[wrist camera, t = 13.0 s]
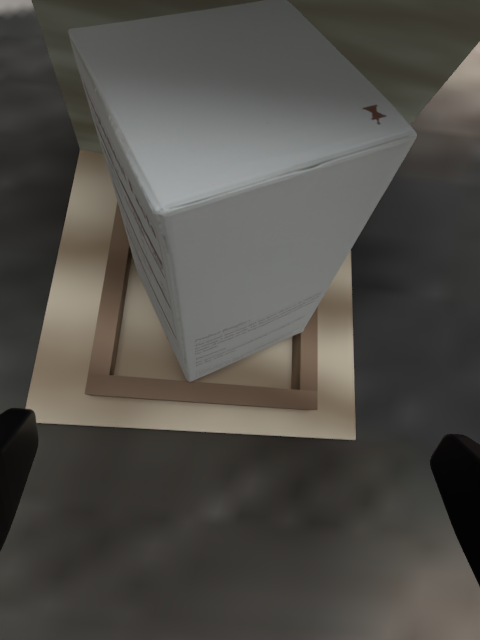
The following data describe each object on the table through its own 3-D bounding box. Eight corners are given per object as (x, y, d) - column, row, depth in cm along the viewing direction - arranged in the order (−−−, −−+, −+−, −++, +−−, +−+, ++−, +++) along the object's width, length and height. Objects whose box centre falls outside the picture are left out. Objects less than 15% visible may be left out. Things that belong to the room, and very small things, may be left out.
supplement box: (247, 237, 23) (290, -11, 12) (305, 334, 20) (433, 132, 9) (134, 274, 21) (59, 18, 10) (183, 387, 18) (155, 213, 7)
